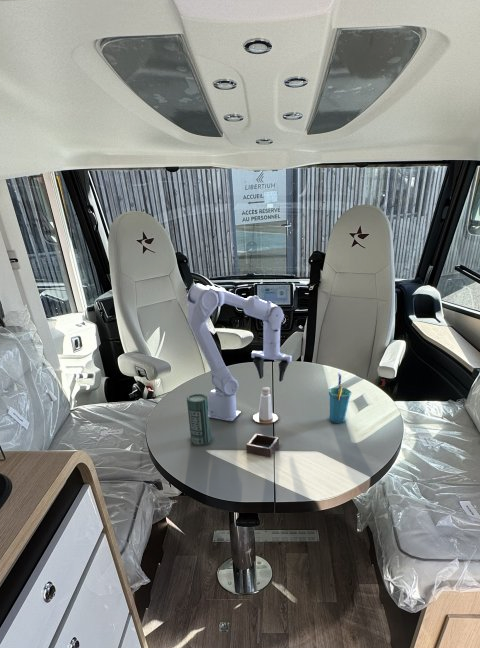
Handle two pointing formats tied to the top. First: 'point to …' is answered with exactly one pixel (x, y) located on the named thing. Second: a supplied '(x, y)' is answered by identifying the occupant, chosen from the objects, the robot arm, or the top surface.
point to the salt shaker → (265, 405)
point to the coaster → (256, 419)
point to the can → (199, 419)
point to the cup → (338, 402)
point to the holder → (260, 450)
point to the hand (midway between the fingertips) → (271, 379)
